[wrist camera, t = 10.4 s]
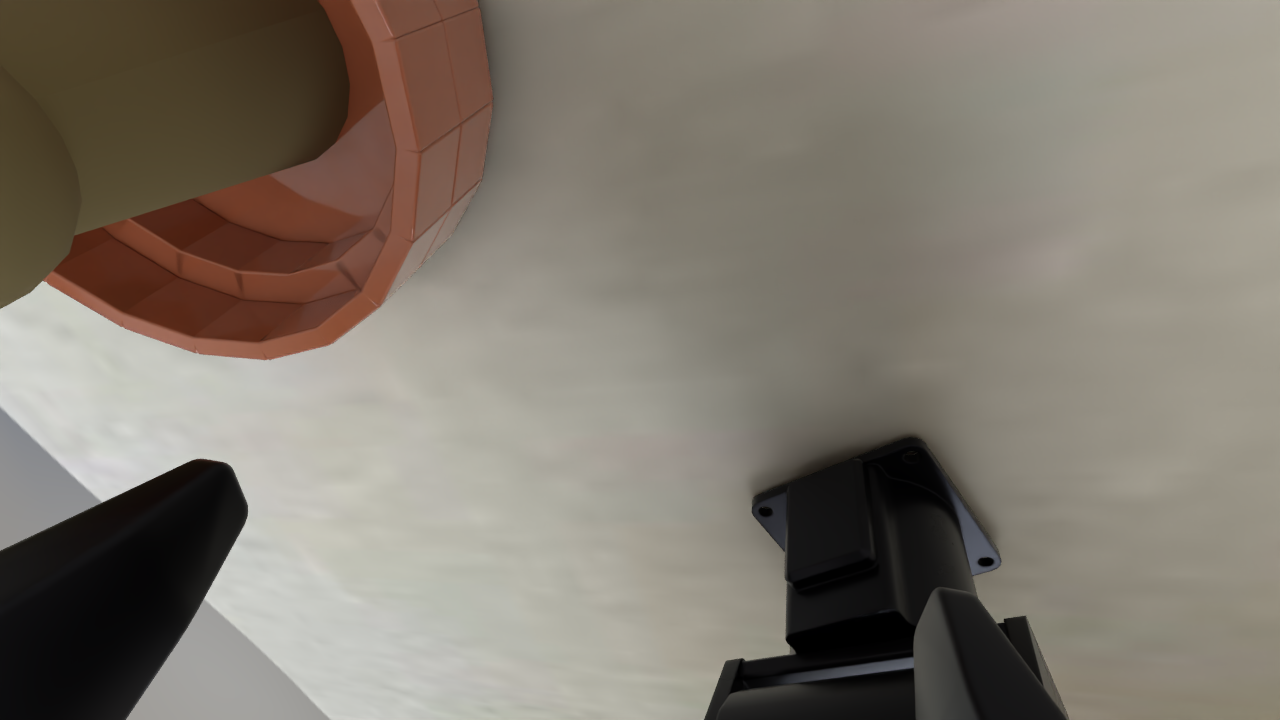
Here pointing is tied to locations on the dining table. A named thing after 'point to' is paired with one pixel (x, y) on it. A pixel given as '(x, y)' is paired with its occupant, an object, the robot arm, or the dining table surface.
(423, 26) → the bowl
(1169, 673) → the dining table surface
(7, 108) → the cork
